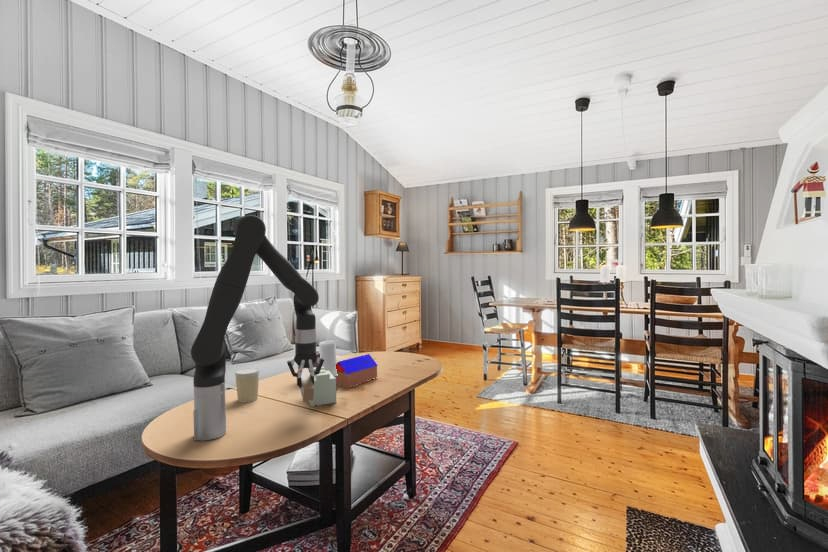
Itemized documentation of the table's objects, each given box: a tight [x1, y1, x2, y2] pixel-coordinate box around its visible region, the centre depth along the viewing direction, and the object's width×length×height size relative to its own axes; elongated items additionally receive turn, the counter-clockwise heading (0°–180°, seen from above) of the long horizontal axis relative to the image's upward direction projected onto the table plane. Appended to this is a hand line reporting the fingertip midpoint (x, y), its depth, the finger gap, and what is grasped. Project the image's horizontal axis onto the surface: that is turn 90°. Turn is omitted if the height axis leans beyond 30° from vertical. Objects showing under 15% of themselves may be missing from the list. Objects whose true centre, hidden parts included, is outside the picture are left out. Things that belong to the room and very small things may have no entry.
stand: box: [308, 366, 337, 407], centre depth 165 cm, size 10×14×12 cm
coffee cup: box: [234, 368, 260, 403], centre depth 167 cm, size 9×9×12 cm
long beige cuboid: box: [299, 368, 314, 402], centre depth 147 cm, size 4×14×5 cm, turn 25°
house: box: [335, 353, 378, 388], centre depth 192 cm, size 12×20×12 cm, turn 141°
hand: (305, 386), depth 147 cm, fingers closed on long beige cuboid, 3 cm apart
